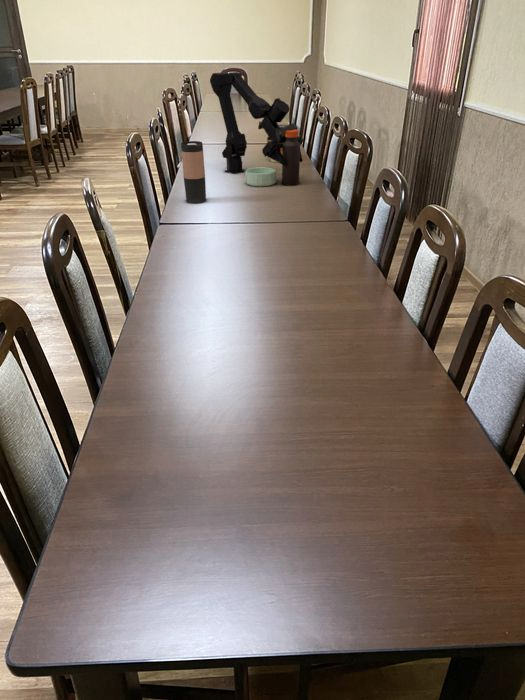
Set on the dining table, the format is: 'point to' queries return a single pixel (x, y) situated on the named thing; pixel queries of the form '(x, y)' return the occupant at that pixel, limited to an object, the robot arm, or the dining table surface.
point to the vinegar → (291, 158)
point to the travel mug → (193, 171)
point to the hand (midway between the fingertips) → (294, 163)
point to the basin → (260, 176)
